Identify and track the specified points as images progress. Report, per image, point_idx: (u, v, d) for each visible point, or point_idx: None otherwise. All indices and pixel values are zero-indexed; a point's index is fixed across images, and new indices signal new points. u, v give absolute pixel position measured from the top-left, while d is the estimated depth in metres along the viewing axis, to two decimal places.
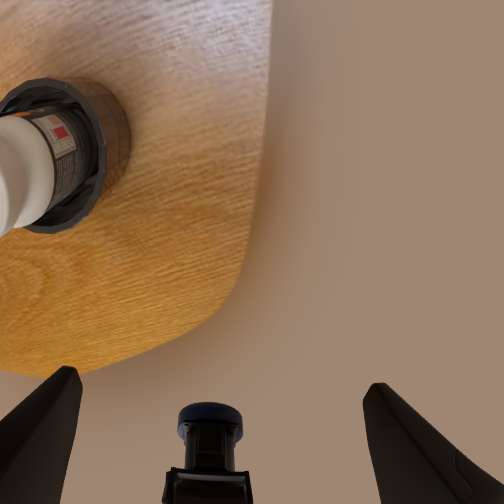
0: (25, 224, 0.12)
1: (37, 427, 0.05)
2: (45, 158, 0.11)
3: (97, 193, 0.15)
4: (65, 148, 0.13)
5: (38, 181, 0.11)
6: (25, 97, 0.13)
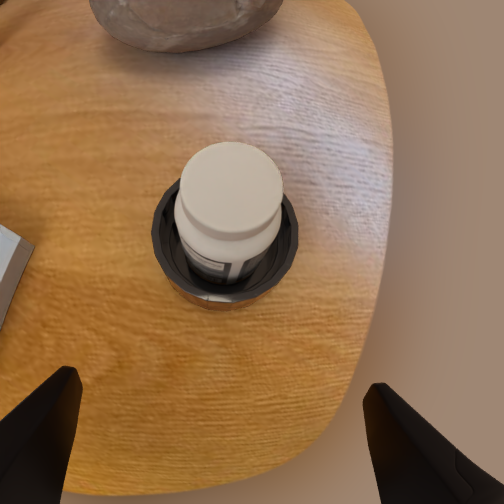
0: (230, 256, 0.16)
1: (37, 427, 0.05)
2: None
3: (274, 281, 0.19)
4: None
5: (272, 225, 0.16)
6: None
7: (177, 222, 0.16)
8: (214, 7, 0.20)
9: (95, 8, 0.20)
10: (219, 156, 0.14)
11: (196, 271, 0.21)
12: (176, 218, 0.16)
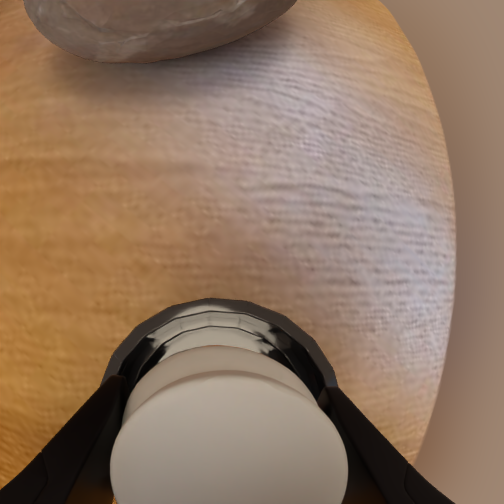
0: None
1: (94, 443, 0.06)
2: None
3: None
4: None
5: None
6: (207, 316, 0.13)
7: None
8: None
9: (25, 6, 0.11)
10: (195, 427, 0.05)
11: None
12: None
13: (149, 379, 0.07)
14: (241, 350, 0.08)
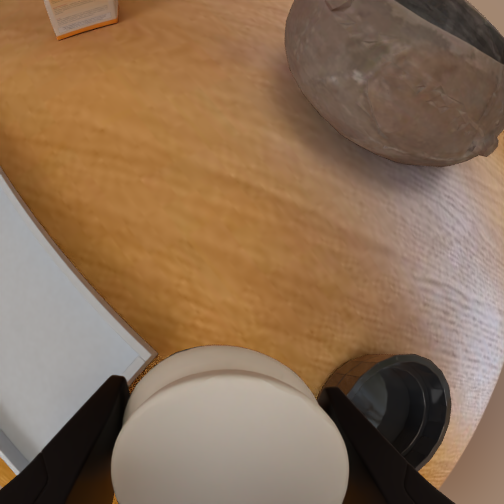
0: None
1: (94, 443, 0.06)
2: None
3: None
4: None
5: None
6: None
7: None
8: (454, 142, 0.17)
9: (303, 53, 0.19)
10: (196, 426, 0.05)
11: None
12: None
13: (149, 379, 0.07)
14: (242, 349, 0.08)
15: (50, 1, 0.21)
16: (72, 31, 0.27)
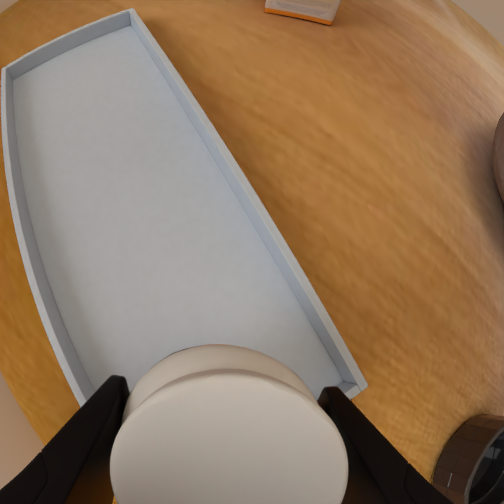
0: None
1: (95, 443, 0.06)
2: None
3: None
4: None
5: None
6: None
7: None
8: None
9: None
10: (196, 425, 0.05)
11: None
12: None
13: (149, 378, 0.07)
14: (241, 349, 0.08)
15: None
16: (284, 11, 0.28)
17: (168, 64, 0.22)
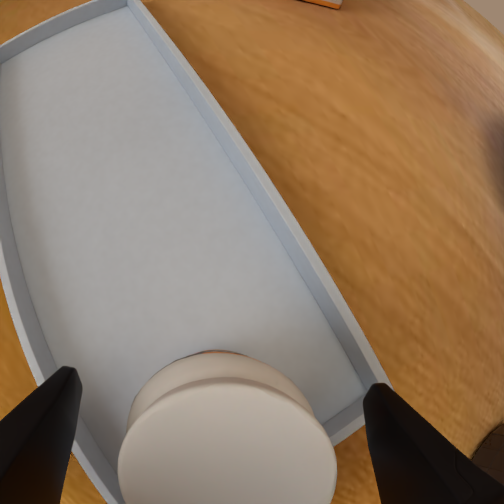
0: None
1: (37, 427, 0.05)
2: None
3: None
4: None
5: None
6: None
7: None
8: None
9: None
10: (197, 429, 0.05)
11: None
12: None
13: (153, 385, 0.08)
14: (239, 357, 0.08)
15: None
16: None
17: (166, 38, 0.19)
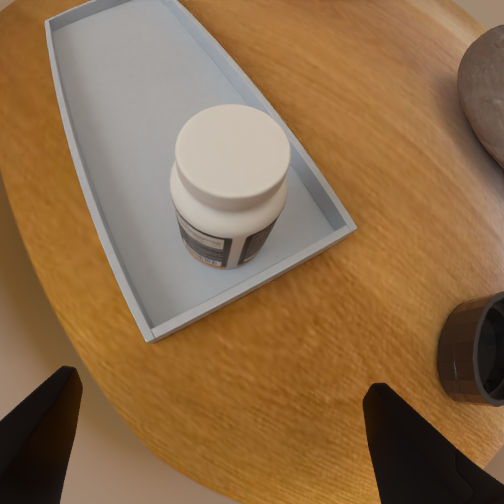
0: (231, 230, 0.14)
1: (37, 427, 0.05)
2: (287, 186, 0.15)
3: None
4: None
5: (278, 197, 0.14)
6: None
7: (172, 193, 0.14)
8: None
9: (480, 78, 0.21)
10: (220, 119, 0.12)
11: (193, 253, 0.19)
12: (171, 189, 0.14)
13: None
14: None
15: None
16: None
17: (189, 14, 0.26)
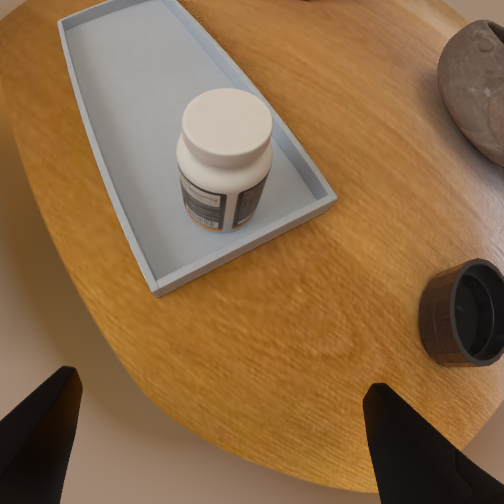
0: (225, 186, 0.17)
1: (37, 427, 0.05)
2: (272, 154, 0.18)
3: (489, 363, 0.19)
4: None
5: (264, 161, 0.17)
6: (483, 275, 0.23)
7: (178, 159, 0.17)
8: None
9: (456, 69, 0.25)
10: (217, 99, 0.15)
11: (194, 217, 0.22)
12: (177, 156, 0.17)
13: None
14: None
15: None
16: None
17: (190, 17, 0.29)
